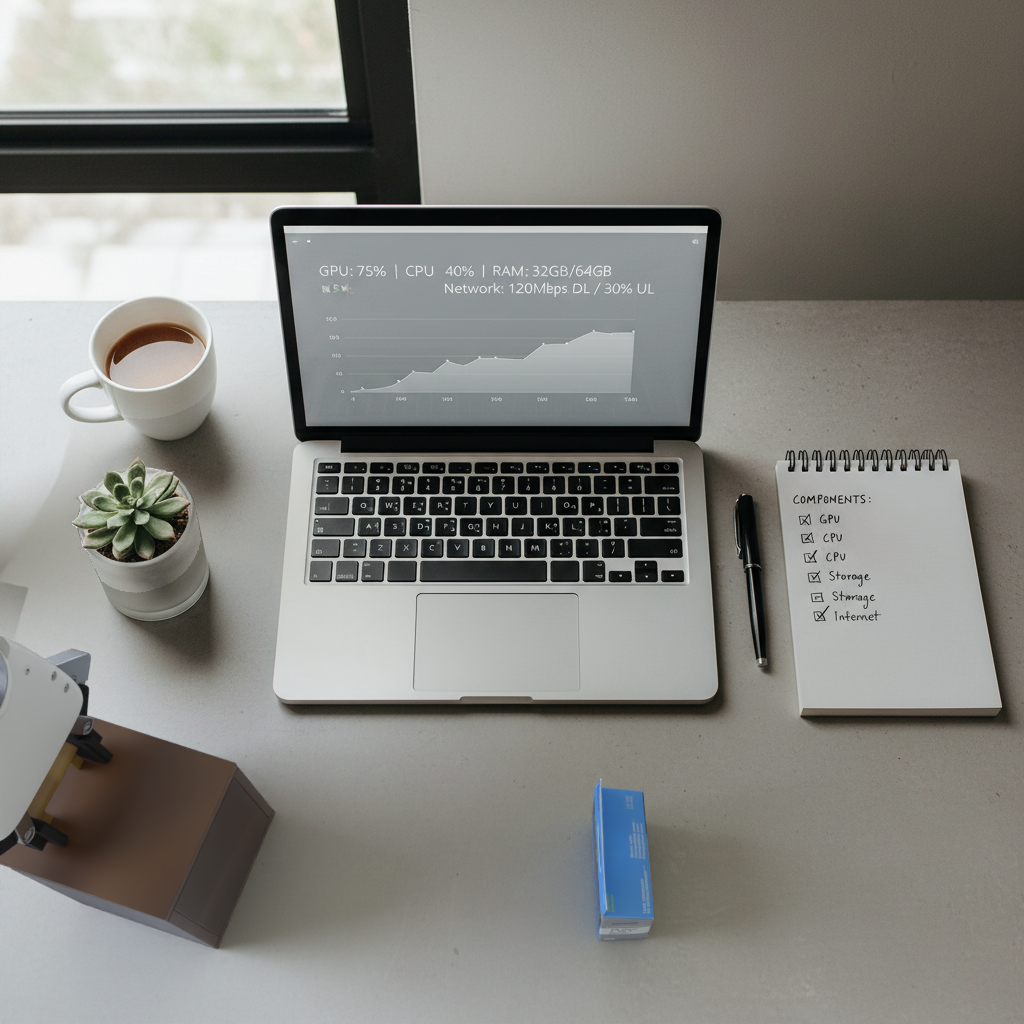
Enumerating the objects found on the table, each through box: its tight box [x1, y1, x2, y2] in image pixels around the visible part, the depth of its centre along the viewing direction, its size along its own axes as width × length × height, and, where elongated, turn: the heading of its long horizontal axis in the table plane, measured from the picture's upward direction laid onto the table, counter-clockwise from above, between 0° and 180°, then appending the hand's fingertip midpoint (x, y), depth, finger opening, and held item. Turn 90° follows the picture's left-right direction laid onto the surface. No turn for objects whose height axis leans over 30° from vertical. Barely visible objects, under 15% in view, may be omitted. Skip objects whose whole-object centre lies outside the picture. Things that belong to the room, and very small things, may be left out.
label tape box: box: [590, 777, 655, 941], centre depth 70 cm, size 9×4×12 cm, turn 1°
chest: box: [10, 766, 276, 950], centre depth 72 cm, size 12×11×12 cm
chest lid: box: [0, 714, 239, 922], centre depth 65 cm, size 12×11×5 cm
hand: (69, 794), depth 66 cm, fingers closed on chest lid, 5 cm apart
